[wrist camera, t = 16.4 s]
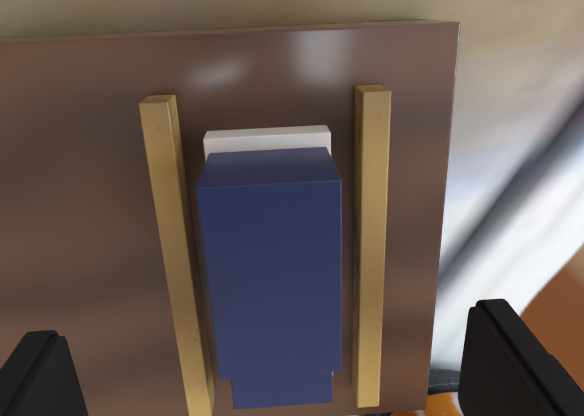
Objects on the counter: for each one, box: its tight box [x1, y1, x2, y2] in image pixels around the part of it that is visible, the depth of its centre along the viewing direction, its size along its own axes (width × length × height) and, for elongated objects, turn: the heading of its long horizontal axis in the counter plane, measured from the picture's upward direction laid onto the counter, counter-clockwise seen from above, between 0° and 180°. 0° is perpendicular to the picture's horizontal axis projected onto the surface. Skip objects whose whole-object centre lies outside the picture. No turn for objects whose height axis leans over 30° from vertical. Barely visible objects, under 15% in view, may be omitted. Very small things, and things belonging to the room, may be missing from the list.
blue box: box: [196, 125, 342, 410], centre depth 18 cm, size 11×4×5 cm, turn 2°
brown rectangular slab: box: [0, 19, 460, 416], centre depth 21 cm, size 18×24×6 cm
